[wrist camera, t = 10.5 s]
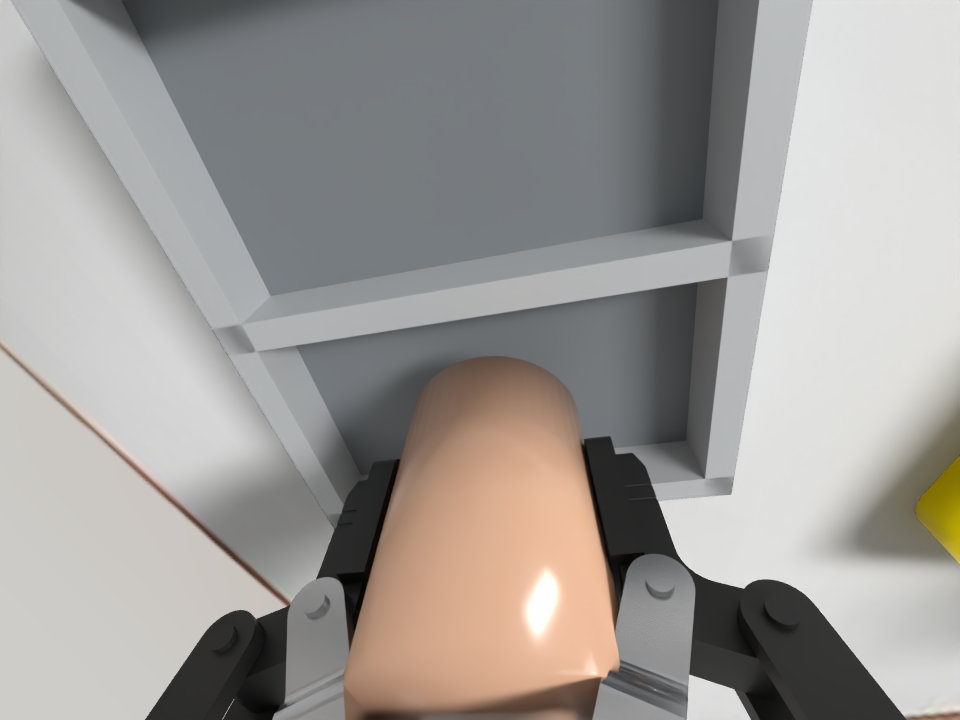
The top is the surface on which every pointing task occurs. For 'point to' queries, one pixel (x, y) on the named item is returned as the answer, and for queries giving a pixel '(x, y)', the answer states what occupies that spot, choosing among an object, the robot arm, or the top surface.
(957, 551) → the element tile
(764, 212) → the rack
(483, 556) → the peach rounded capsule
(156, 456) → the top surface
